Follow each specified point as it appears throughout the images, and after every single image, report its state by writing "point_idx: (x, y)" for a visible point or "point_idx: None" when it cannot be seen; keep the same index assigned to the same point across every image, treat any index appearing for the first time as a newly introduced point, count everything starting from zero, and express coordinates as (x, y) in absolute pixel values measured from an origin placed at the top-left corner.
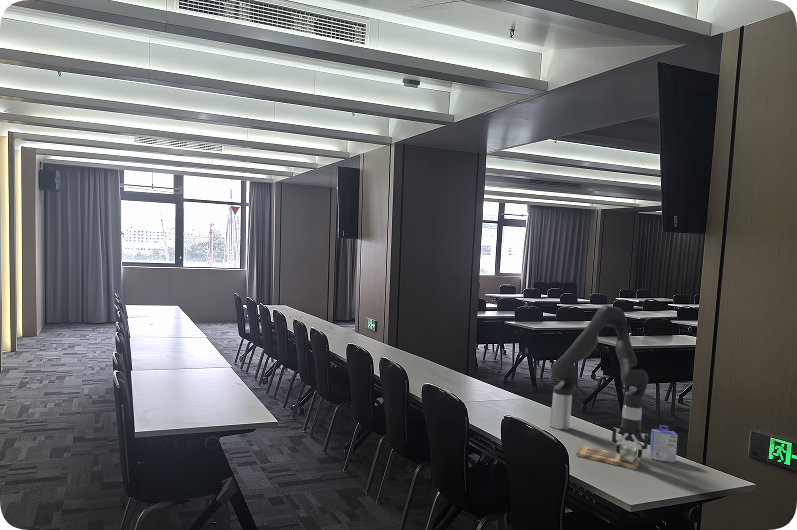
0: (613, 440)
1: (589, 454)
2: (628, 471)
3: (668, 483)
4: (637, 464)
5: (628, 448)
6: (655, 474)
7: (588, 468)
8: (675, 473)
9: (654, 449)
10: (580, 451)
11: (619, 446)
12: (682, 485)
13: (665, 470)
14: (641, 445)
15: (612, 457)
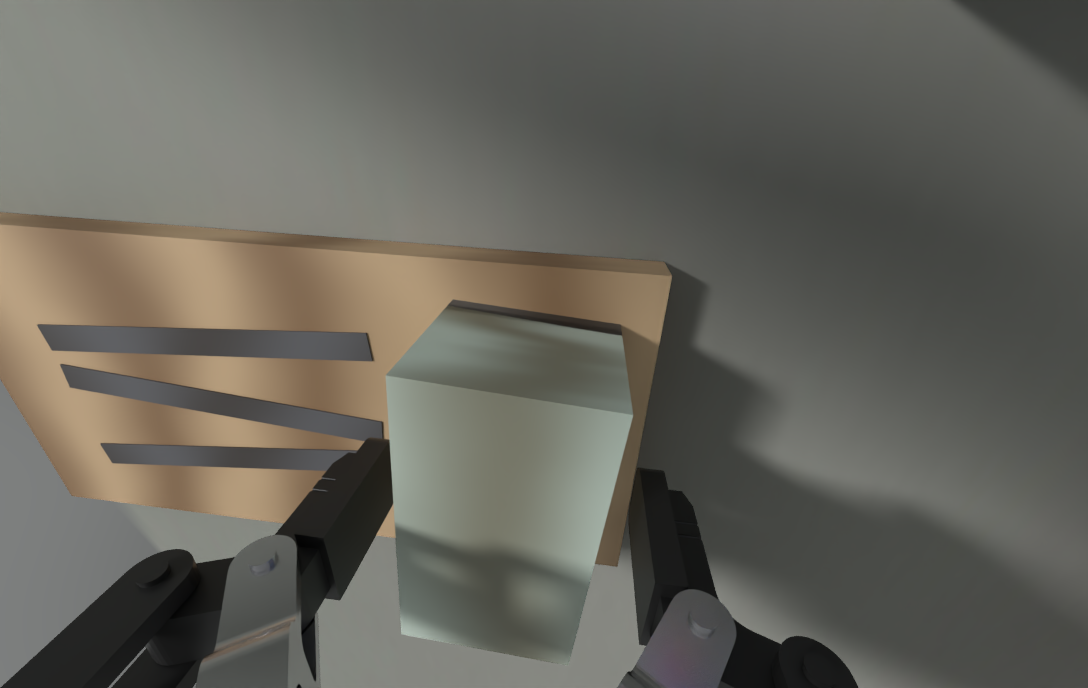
0: (183, 659)
1: (167, 485)
2: None
3: (851, 664)
4: (625, 517)
5: (478, 519)
6: (785, 550)
7: None
8: (1068, 429)
9: None
10: (68, 452)
11: (344, 582)
12: (973, 660)
13: (960, 395)
14: (715, 678)
15: None
